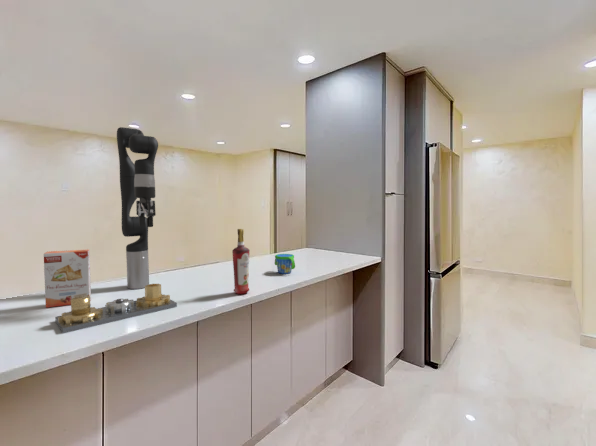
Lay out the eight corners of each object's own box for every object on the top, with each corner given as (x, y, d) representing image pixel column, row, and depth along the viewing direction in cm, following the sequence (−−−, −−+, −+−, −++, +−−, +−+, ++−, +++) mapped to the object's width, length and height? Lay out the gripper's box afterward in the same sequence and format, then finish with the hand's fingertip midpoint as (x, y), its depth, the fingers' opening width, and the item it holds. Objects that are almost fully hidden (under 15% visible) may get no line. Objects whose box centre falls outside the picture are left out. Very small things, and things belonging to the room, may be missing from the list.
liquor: (243, 289, 143) (242, 228, 141) (253, 293, 138) (252, 229, 136) (229, 293, 138) (228, 229, 136) (239, 296, 133) (238, 230, 131)
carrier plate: (55, 321, 105) (54, 297, 104) (162, 299, 129) (161, 279, 129) (62, 333, 95) (61, 307, 94) (176, 306, 119) (176, 285, 119)
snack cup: (300, 274, 175) (300, 255, 175) (284, 276, 169) (284, 257, 169) (284, 269, 188) (284, 252, 187) (269, 271, 182) (269, 254, 181)
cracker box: (45, 308, 118) (42, 253, 117) (49, 304, 123) (46, 251, 122) (89, 303, 124) (87, 250, 123) (91, 299, 130) (89, 248, 129)
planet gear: (131, 302, 120) (130, 285, 120) (163, 295, 129) (162, 280, 128) (142, 309, 112) (141, 291, 111) (175, 302, 120) (175, 285, 120)
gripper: (129, 186, 129) (130, 226, 130) (141, 185, 119) (142, 227, 120) (148, 187, 134) (149, 225, 135) (161, 185, 124) (162, 226, 125)
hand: (146, 226), depth 128 cm, fingers open, 8 cm apart
